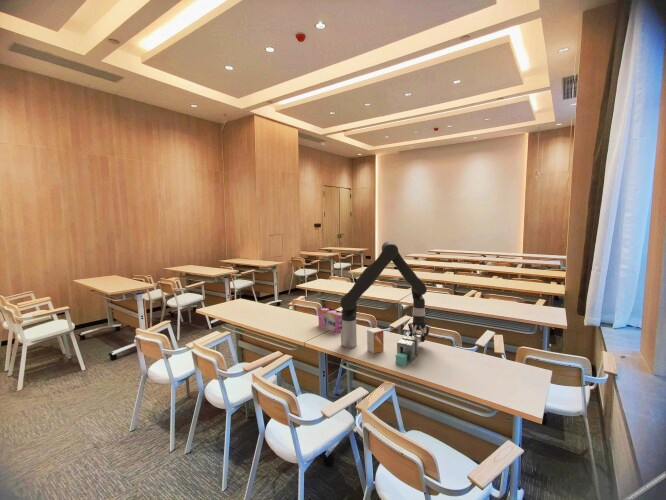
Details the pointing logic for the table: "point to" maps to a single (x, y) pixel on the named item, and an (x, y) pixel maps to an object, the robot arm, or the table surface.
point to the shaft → (416, 336)
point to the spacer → (401, 359)
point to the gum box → (330, 319)
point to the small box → (375, 340)
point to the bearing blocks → (410, 344)
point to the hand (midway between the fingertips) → (419, 340)
